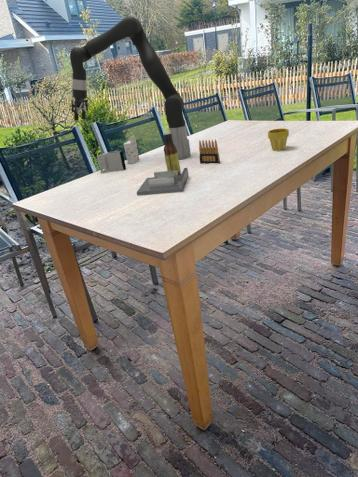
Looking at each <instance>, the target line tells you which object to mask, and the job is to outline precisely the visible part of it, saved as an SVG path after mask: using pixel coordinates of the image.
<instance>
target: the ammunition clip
mask: <svg viewBox="0 0 358 477" xmlns="http://www.w3.org/2000/svg"><path fill="white" fill-rule="evenodd" d="M198 144H199V145H198V147H199V148H198V150H199V151H198V152H199V163H200V164H204V163H205V164H209V163H219V164H220V163H221V160H220V158H221V157H220V153H219V147H218V142H217V140H216V139H214V140H213V139H211V141H210V139H208V140H207V139H205V141H204V139H202V141H201V140H200V139H199V140H198ZM205 164H204V165H205ZM209 165H210V164H209Z"/></svg>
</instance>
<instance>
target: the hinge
mask: <svg viewBox="0 0 358 477" xmlns="http://www.w3.org/2000/svg"><path fill="white" fill-rule="evenodd" d="M96 157H97V162H98V166H99V171H100V174H105V173H111V172H119V171H121V172H122V171H126V169H127V167H126V161H125V156H124V152H123V150H117V151H116V150H115V151H109V152H103V153H102V154H97V155H96Z"/></svg>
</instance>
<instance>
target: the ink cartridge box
mask: <svg viewBox="0 0 358 477" xmlns="http://www.w3.org/2000/svg"><path fill="white" fill-rule="evenodd" d="M123 148H124V153H125V157H126V161H127V164H128V165H129V164H130V165H131V164H136V163H138V161H139V160H140V157H139V156H140V155H139V151H138V145H137V140H136V136H135V134H133V135H131V136H130V137H129V140H127V141H126V142H124V143H123Z"/></svg>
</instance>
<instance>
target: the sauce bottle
mask: <svg viewBox="0 0 358 477" xmlns="http://www.w3.org/2000/svg"><path fill="white" fill-rule="evenodd" d="M162 136H163V140H164V141H163V142H164V146H163V153H164V159H165V166H166V169H167V170H166V171H171V170H177V171H178V175H181V174H182V172H181V165H180V159H178V153H177V149H176V147H175V146H174V144H173V141H172V134H171V133H170V132H165V133H163V134H162Z"/></svg>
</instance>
